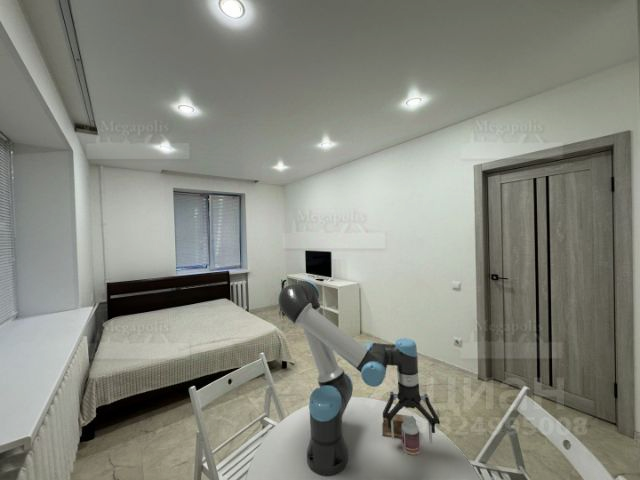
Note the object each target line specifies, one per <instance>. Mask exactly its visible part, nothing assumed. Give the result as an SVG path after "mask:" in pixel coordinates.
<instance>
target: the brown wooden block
mask: <svg viewBox="0 0 640 480" xmlns="http://www.w3.org/2000/svg"><path fill="white" fill-rule="evenodd" d="M405 416H409V415H407V414H398V413H397V414H396V415H395V416H394V417H393V430H394V439H400V440H402V429H401V426H402V423H403V418H404V417H405ZM411 416H412V417H414V416H413V415H411ZM382 420H383V422H382V425H381V426H382V427H381V429H382V431H381V432H382V435H381V436H382V437H385V438H386V437H387V438H392V432H391V428H388V420H387V419H386V418H385V419H384V418H383V417H382Z"/></svg>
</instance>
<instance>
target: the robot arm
mask: <svg viewBox="0 0 640 480" xmlns="http://www.w3.org/2000/svg"><path fill="white" fill-rule="evenodd" d="M319 298H320V291H319V287H317V285H316V283H314V282H312V281H311V280H300V281H299V280H298V281H297V282H294V283H292V284H289V285H286V286H285V287H284V288H282V289H281V290H280V293H279V295H278V306H279V309H280V310H281V312H282V313H283V314H284V316H285V317H286V318H287V319H289V320H290V321H291V322H292V323H293V324H294V325H295V326H298V325H300V326H301V327H302V329H303V332H304V335H305V337H306V341H307V343H308V345H309V349H310V351H311V353H312V357H313V360H314V363H315V367H316V369H317V372H318V376H317V378H316V379H317V383H318V385H319V387H317V388H315V389H314V390H313V391H312V392H311V394H310V396H309V405H308V408H309V409H308V410H309V421H310V422H309V424H310V438H309V442H308V446H307V450H306V462H307V465H308V467H309V468H310V469H311V470H312V471H313V472H314V473H316V474H319V475H321V476H333V475H337V474H338V473H340V472H342V471H343V470H344V468H346V466H347V464H348V462H349V451H348V446H347V444H346V442H345V439H344V436H343V416H344V414H345V410H346V408H347V407H348V405H349V402H350V400H351V399H352V395H353V391H354V390H353V389H354V384H353V381H352V378H351V377H350V376H349V375H348V374H347V373H346V372H345V370H344V368H343V367H342V366H340V365H338V361H337V359H336V356H335V354H337V355H338V356H340V357H341V358H342V359H343V360H345V361H347V363H349V364H350V365H351V366H353V367H354V368H355V370H357V371H358V372H360V374H361V378H362V380H363V382H364V383H365V384H366V385H367V386H369V387H373V388H375V387H379V386H380V385H381V384H382V383H383V382H384V379H385V377H386V373H387V368H388V366H393V367H396V373H397V389H398V392H397V393H394V391H390V392H389V398H388V400H387V403H386V405H385V407H384V409H383V411H382V419H383V418H384V419H385V418H386V419H387V420H388V428H391V432H392V437H391V439H393V440H394V439H395V438H394V430H393V417H394V416H395V415H396V414H398V413H399V411H401V410H402V409H403V408H405V409H415V408H416V409H417V410H418V411H419V412H420V413H421V414H422V416H423V417H424V418H425V419H426V420H427V422H428V423H427V424H428V439H429V443H430V444H433V434H435V432H436V424H437V425H440V423H441V422H440V419H439V416H438V414H437V413H436V411H435V409H434V407H433V406H432V403H431V402H430V399H429V395H428V394H427V393H425V394H424V395H420V384H419V382H420V379H419V367H418V366H419V365H418V364H419V363H418V350H417V344H416V341H415V340H412V339H411V338H398V339H396V340H395V344H389V343H381V342H380V343H379V342H366V343H365V345H364V346H363V345H362V344H361V343H359V342H358V341H357V340H356V339H354V338H353V337H351V336H350V335H349V334H348V333H346V332H345V331H344V330H343V329H341V328H340V327H339V326H337V325H336V324H334V323H333V322H332V321H330V320H329V319H328V318H326V317H325V316H324V315H322V314H321V313H320V312H319V311H320V309H321V304H320V302H319ZM334 352H335V353H334ZM396 399H397V400H398V402H397V403H396V404H395V405H394V406H393V404H394V401H396ZM421 401H422V402H423V403H424V404H425V405H426V407H427V409H428V410H429V412H430V413H429V412H428V411H427V409H425V408H424V406H423V405H422V404H421ZM392 406H393V407H392ZM390 409H391V410H390Z"/></svg>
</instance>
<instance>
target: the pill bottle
mask: <svg viewBox="0 0 640 480" xmlns="http://www.w3.org/2000/svg"><path fill="white" fill-rule="evenodd" d="M412 416H413V415H408V416H405V417H404V418H403V423H402V426H401V429H402V439H401V446H402V450H403V451H404V452H405V453H406V454H408V455H412V456H413V455H414V456H415V455H418V454H419V452H420V435H419V434H420V433H419V432H420V431H419V426H418V425H417V419H416V418H415V417H414V416H413V417H412Z"/></svg>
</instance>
